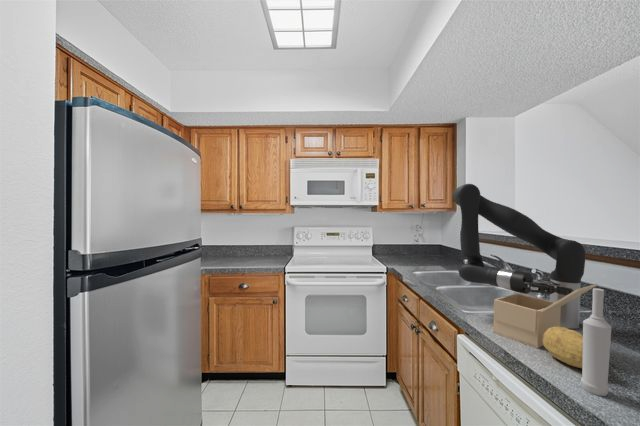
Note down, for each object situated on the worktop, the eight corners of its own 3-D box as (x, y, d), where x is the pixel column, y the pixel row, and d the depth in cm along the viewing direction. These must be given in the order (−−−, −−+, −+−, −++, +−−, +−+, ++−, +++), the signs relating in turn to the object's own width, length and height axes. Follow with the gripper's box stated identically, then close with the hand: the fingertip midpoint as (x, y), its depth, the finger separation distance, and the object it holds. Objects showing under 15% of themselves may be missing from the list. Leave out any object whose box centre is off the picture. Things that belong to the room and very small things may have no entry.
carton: (516, 324, 118) (518, 293, 117) (560, 337, 106) (561, 303, 105) (492, 332, 109) (493, 299, 108) (536, 348, 97) (537, 311, 96)
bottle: (594, 384, 78) (598, 286, 77) (614, 396, 72) (619, 292, 72) (574, 383, 77) (578, 286, 77) (593, 396, 72) (598, 292, 72)
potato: (573, 353, 94) (574, 323, 94) (608, 379, 80) (609, 344, 79) (537, 350, 96) (538, 320, 96) (564, 375, 82) (566, 340, 81)
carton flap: (596, 283, 97) (598, 284, 96) (561, 304, 105) (562, 305, 104) (577, 289, 89) (578, 290, 88) (540, 310, 97) (541, 312, 96)
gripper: (504, 271, 107) (563, 283, 92) (523, 268, 114) (581, 278, 99) (503, 293, 107) (562, 307, 92) (523, 288, 114) (580, 301, 99)
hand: (572, 292), depth 96 cm, fingers closed
